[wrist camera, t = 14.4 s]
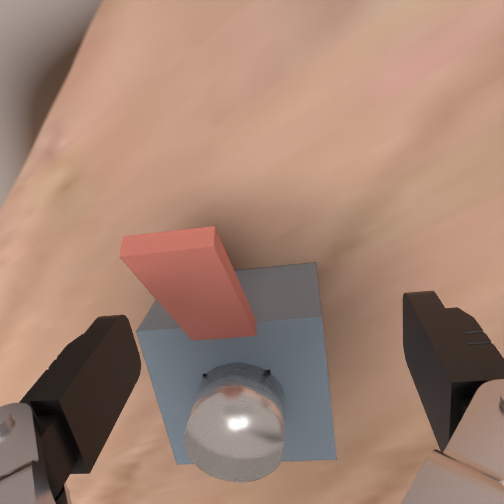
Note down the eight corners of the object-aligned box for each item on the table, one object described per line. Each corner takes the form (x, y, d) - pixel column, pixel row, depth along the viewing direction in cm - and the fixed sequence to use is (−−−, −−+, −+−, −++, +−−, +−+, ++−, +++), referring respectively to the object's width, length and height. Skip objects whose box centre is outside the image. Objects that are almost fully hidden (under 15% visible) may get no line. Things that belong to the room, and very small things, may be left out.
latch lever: (256, 320, 25) (256, 335, 25) (193, 325, 26) (192, 340, 25) (214, 225, 17) (213, 246, 16) (123, 236, 17) (119, 256, 17)
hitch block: (328, 383, 37) (336, 459, 29) (199, 390, 38) (176, 464, 31) (315, 262, 32) (321, 316, 25) (170, 276, 34) (136, 331, 27)
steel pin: (290, 365, 35) (289, 480, 25) (222, 369, 36) (194, 483, 26) (282, 304, 33) (276, 404, 23) (209, 310, 34) (173, 410, 24)
